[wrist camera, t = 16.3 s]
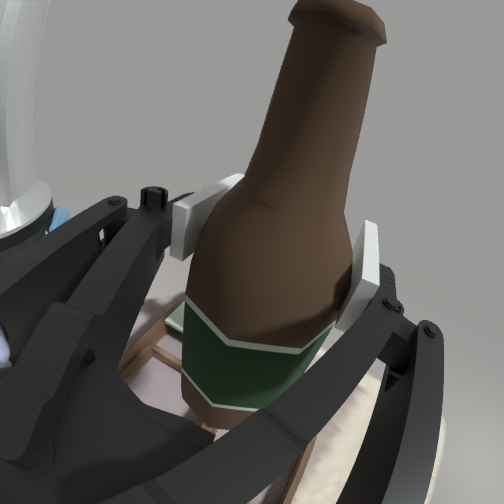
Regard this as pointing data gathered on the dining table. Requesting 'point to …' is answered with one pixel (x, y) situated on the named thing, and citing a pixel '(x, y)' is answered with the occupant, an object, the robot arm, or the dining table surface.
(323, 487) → the dining table surface
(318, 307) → the beer bottle
